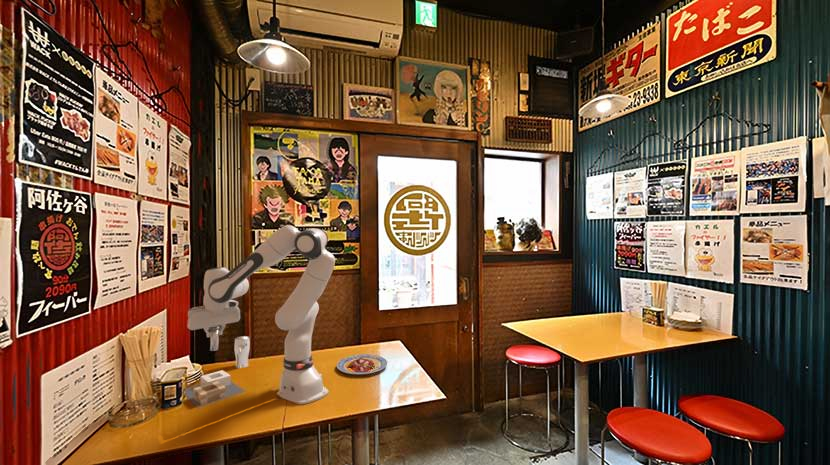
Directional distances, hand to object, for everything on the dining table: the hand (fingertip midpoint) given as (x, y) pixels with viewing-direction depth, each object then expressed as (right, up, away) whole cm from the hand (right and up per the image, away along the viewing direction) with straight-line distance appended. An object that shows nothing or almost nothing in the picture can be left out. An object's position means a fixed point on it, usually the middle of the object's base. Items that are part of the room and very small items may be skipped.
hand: (214, 335), depth 148 cm
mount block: (+3, -23, -9) cm, 25 cm away
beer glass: (0, -24, +24) cm, 33 cm away
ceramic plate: (+61, -25, +26) cm, 71 cm away
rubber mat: (+1, -24, -4) cm, 24 cm away
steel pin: (0, -6, 0) cm, 6 cm away
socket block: (-1, -22, +2) cm, 22 cm away
